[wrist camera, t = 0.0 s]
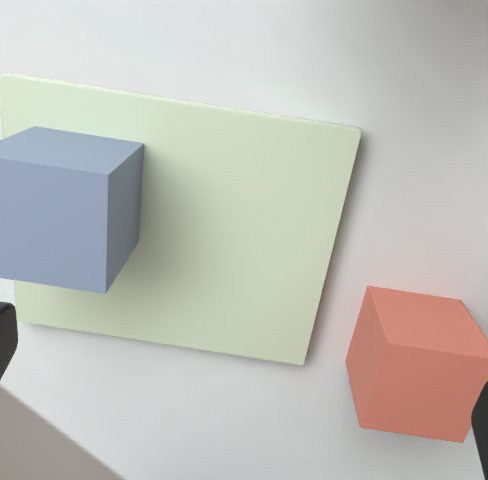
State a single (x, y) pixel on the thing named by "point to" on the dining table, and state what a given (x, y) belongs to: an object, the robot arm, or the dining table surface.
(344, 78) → the dining table surface
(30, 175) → the blue brick
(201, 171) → the build board
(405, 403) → the red brick
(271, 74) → the dining table surface
